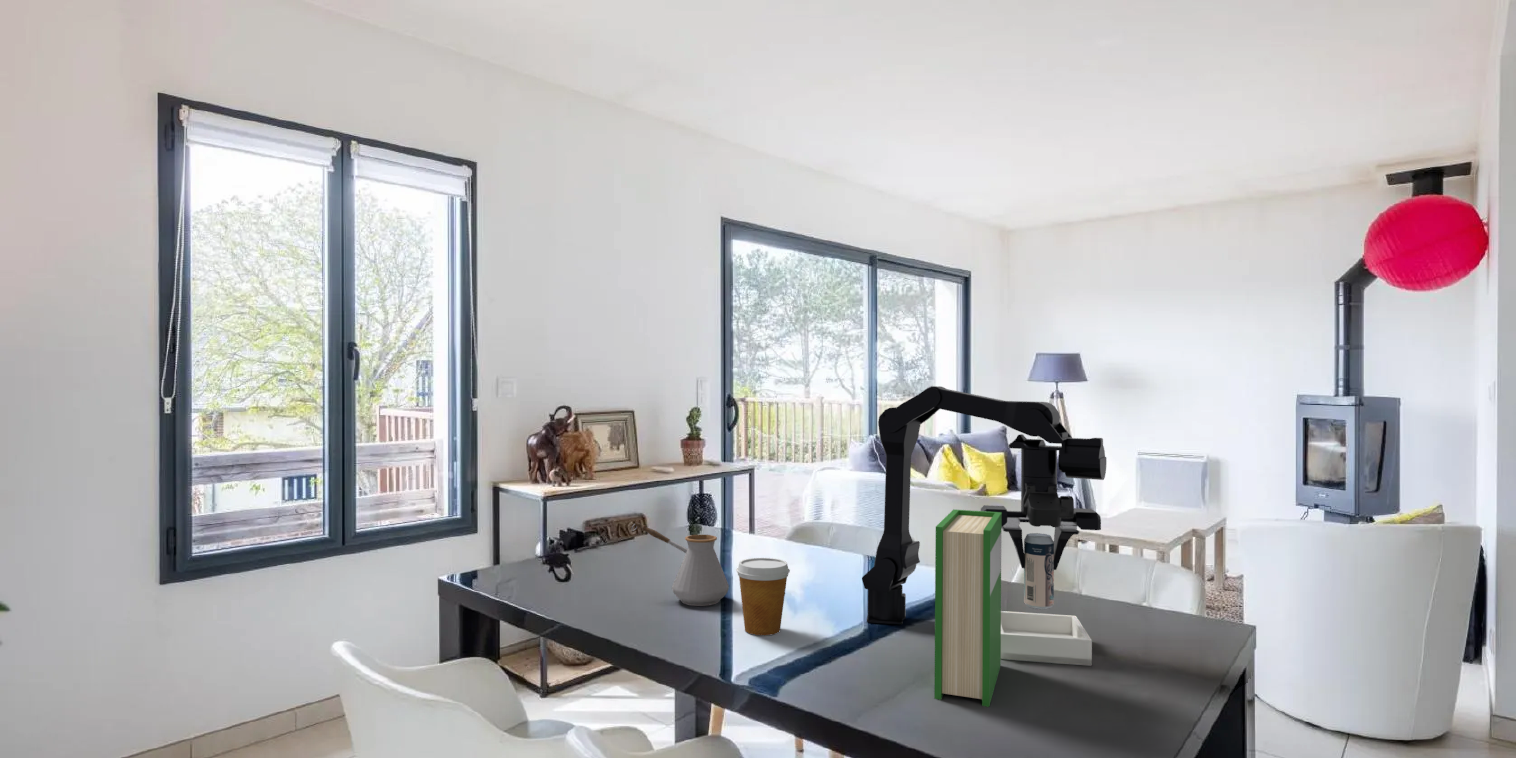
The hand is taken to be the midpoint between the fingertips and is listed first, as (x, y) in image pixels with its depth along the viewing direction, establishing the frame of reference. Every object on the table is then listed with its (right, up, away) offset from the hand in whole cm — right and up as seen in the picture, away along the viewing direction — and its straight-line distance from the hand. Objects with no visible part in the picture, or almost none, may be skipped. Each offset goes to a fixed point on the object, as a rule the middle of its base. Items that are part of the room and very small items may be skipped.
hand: (1038, 568), depth 136 cm
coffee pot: (-64, -13, +29) cm, 71 cm away
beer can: (0, -7, 0) cm, 7 cm away
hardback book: (-16, -13, -16) cm, 26 cm away
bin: (0, -13, -1) cm, 13 cm away
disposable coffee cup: (-47, -13, +8) cm, 49 cm away
